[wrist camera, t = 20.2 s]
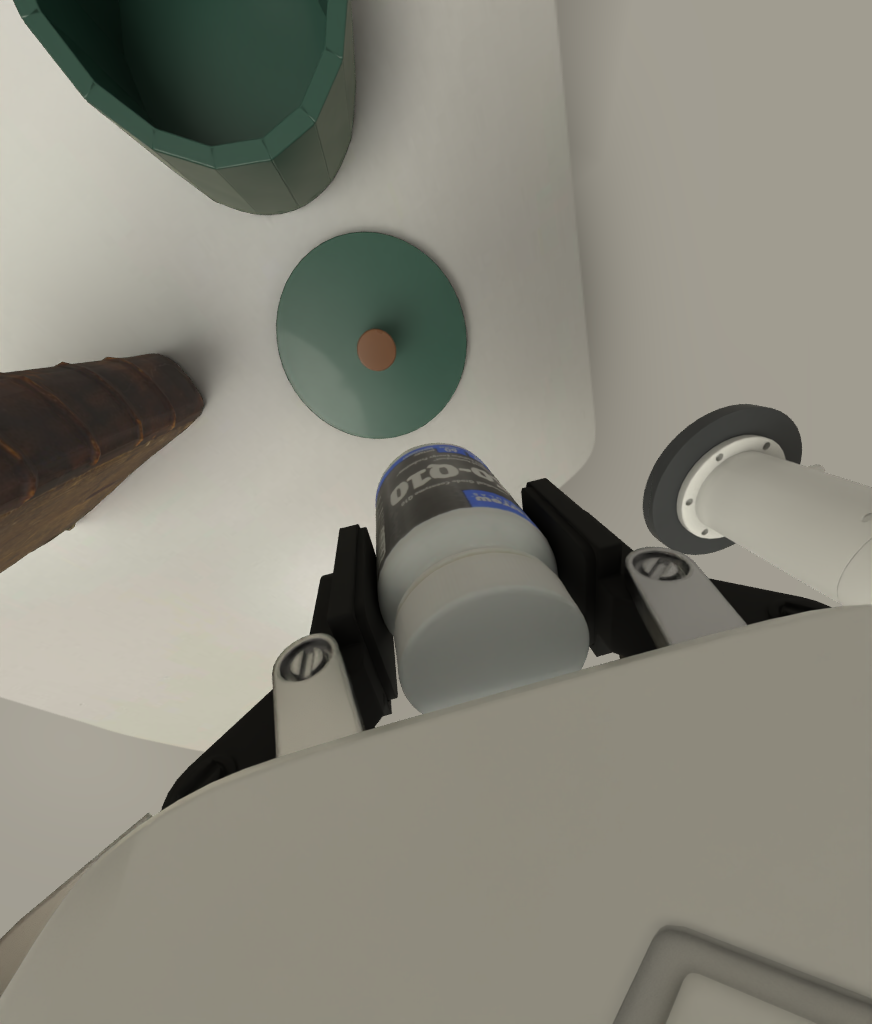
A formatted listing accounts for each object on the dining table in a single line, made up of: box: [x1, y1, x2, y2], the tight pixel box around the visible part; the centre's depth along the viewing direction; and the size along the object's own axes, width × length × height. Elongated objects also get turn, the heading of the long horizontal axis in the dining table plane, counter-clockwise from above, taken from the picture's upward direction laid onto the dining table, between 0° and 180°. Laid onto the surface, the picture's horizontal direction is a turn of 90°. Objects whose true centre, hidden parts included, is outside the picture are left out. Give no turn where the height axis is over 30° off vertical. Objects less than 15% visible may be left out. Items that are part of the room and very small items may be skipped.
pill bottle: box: [376, 443, 589, 714], centre depth 11 cm, size 5×5×8 cm
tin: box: [13, 0, 356, 215], centre depth 17 cm, size 13×13×8 cm
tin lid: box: [276, 232, 467, 439], centre depth 25 cm, size 14×14×6 cm
